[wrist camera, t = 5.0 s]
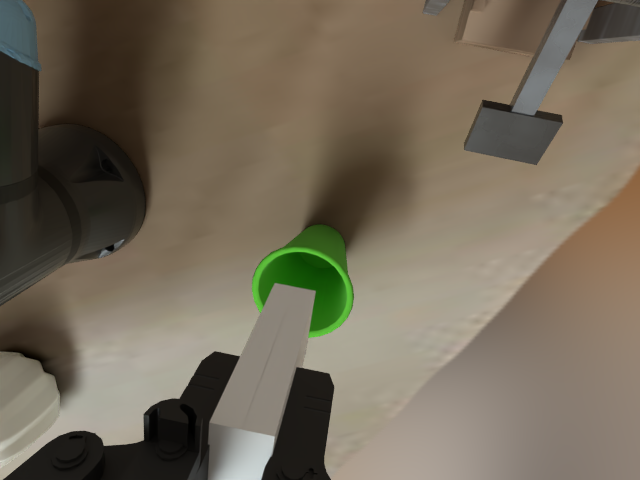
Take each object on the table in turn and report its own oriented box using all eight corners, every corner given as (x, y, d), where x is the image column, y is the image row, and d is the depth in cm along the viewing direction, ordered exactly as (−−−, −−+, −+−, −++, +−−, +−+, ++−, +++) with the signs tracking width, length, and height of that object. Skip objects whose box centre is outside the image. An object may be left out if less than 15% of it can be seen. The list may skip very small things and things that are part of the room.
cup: (346, 194, 46) (331, 233, 36) (374, 270, 49) (367, 326, 39) (269, 220, 49) (234, 262, 38) (300, 290, 51) (275, 347, 41)
